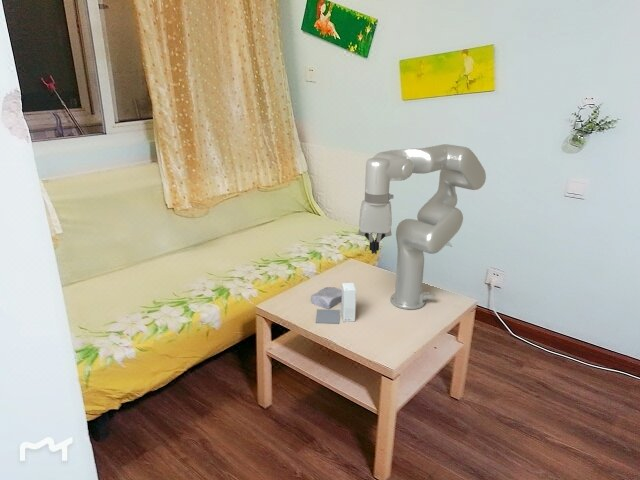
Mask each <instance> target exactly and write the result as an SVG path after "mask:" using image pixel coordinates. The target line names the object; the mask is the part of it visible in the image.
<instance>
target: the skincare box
mask: <svg viewBox="0 0 640 480" xmlns="http://www.w3.org/2000/svg"><path fill="white" fill-rule="evenodd" d="M341 290H342V302H340V304H341V307H340V309H341V310H340V314H341V315H340V316H341V319H342V322H343V323H347V322H348V323H350V322H356V305H357V303H356V302H357V289H356V285H355V283H354V282H342V283H341Z"/></svg>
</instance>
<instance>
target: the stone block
mask: <svg viewBox="0 0 640 480" xmlns="http://www.w3.org/2000/svg"><path fill="white" fill-rule="evenodd" d="M310 301H311V304H312V305H314V306H316V307H321V308H322V309H325V310H332V308H334V307H335V306H337V305H338V304H339V303H340V304H341V302H342V289H340V288H338V287H334V286H326V287H323V288H321V289H320V290H318V291H317V292H316V293H313V294H312V295H311V296H310Z"/></svg>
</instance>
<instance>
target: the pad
mask: <svg viewBox="0 0 640 480" xmlns="http://www.w3.org/2000/svg"><path fill="white" fill-rule="evenodd" d="M340 314H341V310H340V309H325V308H321V309H318V308H317V310H316V317H315V324H328V325H329V324H332V325H339V324H340V316H341V315H340Z"/></svg>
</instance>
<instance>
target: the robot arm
mask: <svg viewBox="0 0 640 480" xmlns="http://www.w3.org/2000/svg"><path fill="white" fill-rule="evenodd" d="M437 171H439V177H438V178H439V181H438V188H437V191H436V192H435V193H434V194H433V196H432V197H431V198H430V199H428V200H427V202H426V203H424V204H423V205H422V207H421V208H420V209H419V210H418V212H417V214H416V215H417V216H416V217H417V219H413V218H406V219H403V220H401V221H399V223H398V225H397V226H396V231H395V237H396V238H395V239H396V245H397V247H396V248H397V256H396V257H397V258H396V260H397V261H396V271H395V272H396V273H395V274H396V275H395V289H394V293H392V294H391V296H390V299H389V300H390V303H391V304H392V305H393V306H395V307H397V308H400V309H403V310H418V309H421V308H422V307H424V306H425V304H426V300H430V301H431V300H432V301H433V300H435V294H432V293H431V291H423V280H424V279H423V277H424V269H425V268H424V267H425V253H427V254H433V255H434V254H438V252H440V251H441V250H443V249H444V247H446V245H447V244H449V242H450V241H451V240H452V239H453V238H454V237H455V236H456V235H457V234H458V232H459V231H460V230H461V228H462V224H463V223H464V222H463V221H464V214H463V212H462V210H460V209H459V208H458V207H456V206H457V204H458V196H457V191H456V187H457V188H461V189H467V190H471V191H476V190H479V189H481V188H482V187H484V185H485V183H486V179H487V173H486V171H485V168H484V166H483V165H482V163H481V161H480V160H479V159H478V157H477V155H476V154H475V153H474V152H473V150H471V149H470V148H468V147H466V146H461V145H454V144H438V145H433V146H432V145H431V146H427V147H421V148H418V147H417V148H406V149H404V148H403V149H392V150H386V151H381V152H378V153H376V154H375V155H374V156H373V157H372V158H368V159H367V160H366V163H365V179H364V181H365V183H364V200H362V201H361V206H360V211H359V223H358V224H359V225H358V226H359V227H358V228H359V229H358V236H362V237H365V238H366V239H367V240H368V241H369V251H370V252H371V254H373V255H374V254H375V255H377V254H378V252H377V251H380V242H381V241H382V240H383V239H384V238H386V237H391V236H392V235H393V234H392V224H393V223H392V222H393V221H392V219H393V218H392V203H391V201H390V200H393V199H394V198H395V197H394V194H391V193H390V182H391V181H393V182H394V181H397V182H398V181H405V180H407V179H409V178H410V177H411V176H412V174H421V175H423V174H429V173H430V174H431V173H434V172H437ZM373 234H376V237H375V239H374V236H373Z"/></svg>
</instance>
